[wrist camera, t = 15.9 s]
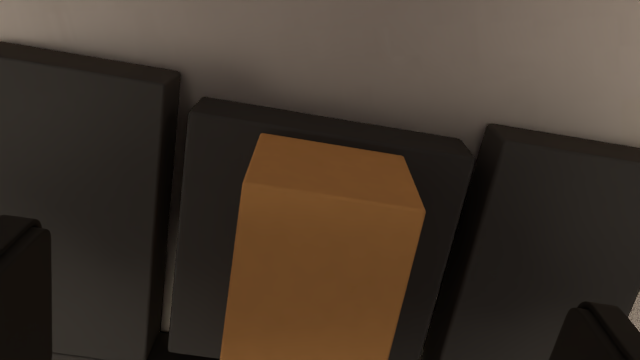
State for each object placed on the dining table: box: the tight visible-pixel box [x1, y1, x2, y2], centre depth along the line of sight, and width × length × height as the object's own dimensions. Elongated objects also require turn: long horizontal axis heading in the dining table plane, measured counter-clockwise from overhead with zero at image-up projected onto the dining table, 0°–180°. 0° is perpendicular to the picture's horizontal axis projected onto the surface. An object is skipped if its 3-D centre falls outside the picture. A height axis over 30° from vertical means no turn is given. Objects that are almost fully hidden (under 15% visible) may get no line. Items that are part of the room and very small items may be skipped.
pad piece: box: [168, 97, 475, 360], centre depth 13 cm, size 6×6×4 cm
